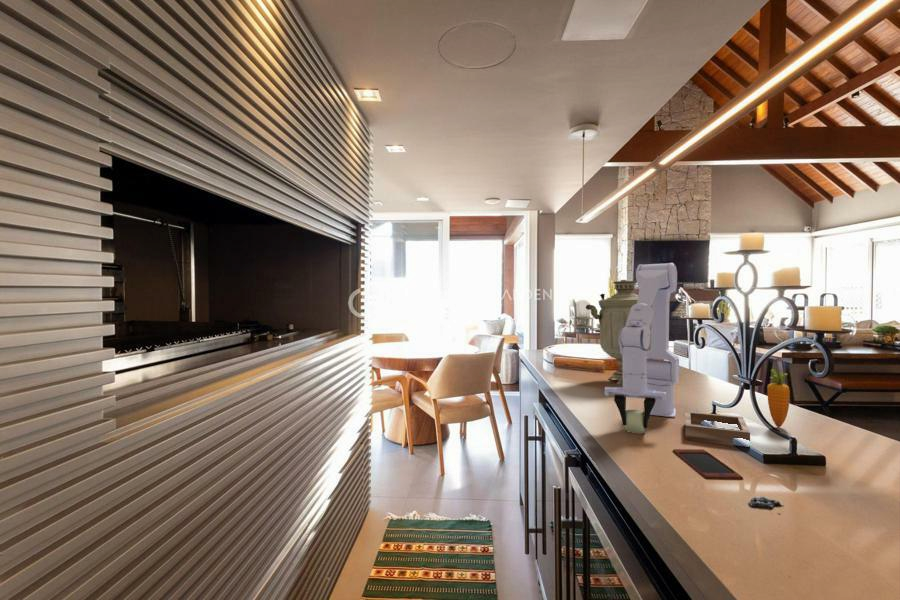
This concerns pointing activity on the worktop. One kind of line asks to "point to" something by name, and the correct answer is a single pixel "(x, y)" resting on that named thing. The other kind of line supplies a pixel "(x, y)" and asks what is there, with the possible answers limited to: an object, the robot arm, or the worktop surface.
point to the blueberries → (764, 503)
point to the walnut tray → (714, 428)
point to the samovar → (615, 321)
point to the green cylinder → (635, 421)
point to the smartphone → (707, 464)
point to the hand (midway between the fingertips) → (634, 425)
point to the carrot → (778, 398)
